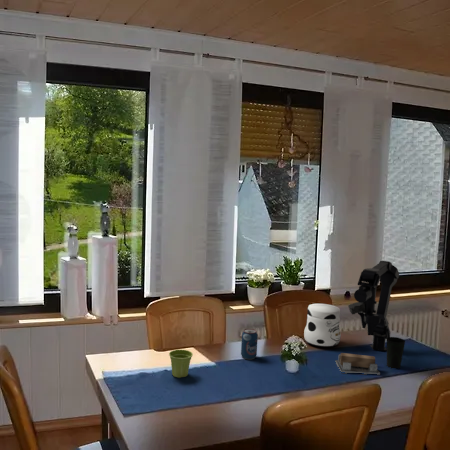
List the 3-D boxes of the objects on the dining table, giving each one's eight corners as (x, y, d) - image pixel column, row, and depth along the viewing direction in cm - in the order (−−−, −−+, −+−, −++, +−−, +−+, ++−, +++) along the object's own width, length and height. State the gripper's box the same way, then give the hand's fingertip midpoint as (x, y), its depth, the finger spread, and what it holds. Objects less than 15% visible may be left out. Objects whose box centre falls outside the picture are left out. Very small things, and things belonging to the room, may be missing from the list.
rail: (340, 364, 217) (341, 355, 217) (340, 361, 220) (340, 352, 220) (374, 368, 215) (375, 359, 214) (373, 365, 218) (374, 356, 218)
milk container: (343, 351, 239) (346, 313, 237) (306, 349, 239) (308, 311, 237) (335, 338, 256) (338, 303, 254) (301, 337, 256) (303, 302, 254)
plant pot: (195, 372, 205) (196, 351, 204) (186, 381, 196) (187, 359, 195) (174, 368, 208) (175, 348, 207) (164, 377, 199) (164, 355, 198)
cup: (403, 370, 218) (406, 343, 216) (385, 368, 219) (387, 341, 218) (401, 364, 225) (403, 337, 224) (383, 362, 227) (385, 336, 225)
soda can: (248, 361, 220) (249, 334, 219) (237, 356, 225) (238, 330, 224) (259, 357, 224) (261, 331, 223) (248, 353, 230) (250, 327, 228)
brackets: (335, 362, 224) (336, 353, 223) (371, 364, 223) (372, 355, 223) (341, 373, 212) (342, 363, 211) (379, 375, 212) (380, 365, 211)
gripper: (345, 291, 236) (343, 324, 238) (355, 303, 217) (353, 338, 219) (369, 292, 236) (367, 325, 238) (382, 303, 217) (379, 339, 219)
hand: (366, 331), depth 229 cm, fingers open, 9 cm apart
